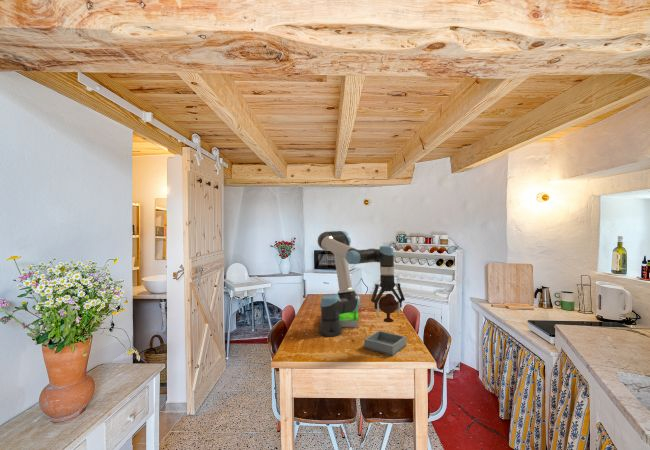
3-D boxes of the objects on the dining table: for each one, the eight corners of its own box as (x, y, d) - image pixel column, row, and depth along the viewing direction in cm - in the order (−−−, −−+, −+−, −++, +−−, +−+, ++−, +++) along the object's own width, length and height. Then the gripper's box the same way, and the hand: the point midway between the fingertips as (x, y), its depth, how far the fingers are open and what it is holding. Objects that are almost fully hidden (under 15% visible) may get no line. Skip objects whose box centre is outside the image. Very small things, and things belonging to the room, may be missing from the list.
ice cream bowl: (398, 318, 175) (398, 291, 175) (397, 324, 164) (397, 296, 164) (379, 317, 177) (379, 291, 178) (377, 323, 167) (376, 295, 167)
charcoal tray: (364, 348, 171) (364, 339, 171) (379, 339, 184) (379, 330, 184) (392, 356, 160) (392, 346, 160) (406, 345, 174) (406, 336, 174)
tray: (358, 316, 230) (358, 310, 230) (358, 328, 205) (358, 320, 205) (324, 316, 233) (324, 309, 233) (320, 327, 208) (320, 320, 208)
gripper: (367, 276, 166) (369, 317, 166) (410, 274, 168) (411, 314, 168) (364, 274, 173) (365, 313, 173) (405, 272, 176) (406, 311, 176)
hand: (388, 314), depth 171 cm, fingers closed on ice cream bowl, 11 cm apart
